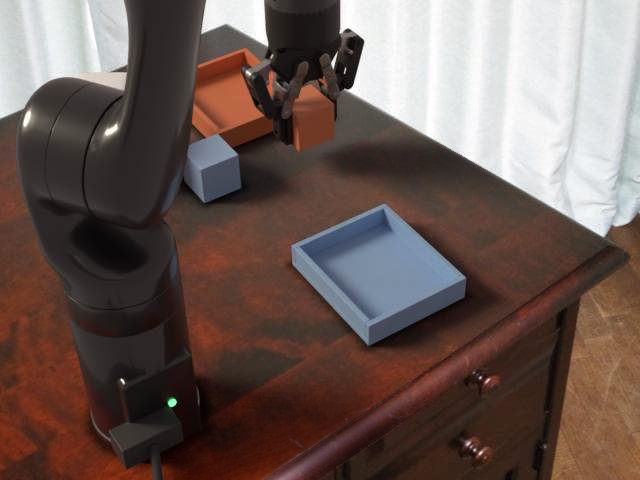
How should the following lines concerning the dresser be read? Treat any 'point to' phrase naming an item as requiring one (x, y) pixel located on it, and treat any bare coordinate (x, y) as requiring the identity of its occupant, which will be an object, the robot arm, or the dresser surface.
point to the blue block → (212, 168)
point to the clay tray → (228, 100)
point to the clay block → (312, 119)
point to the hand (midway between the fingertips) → (305, 132)
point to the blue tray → (378, 273)
